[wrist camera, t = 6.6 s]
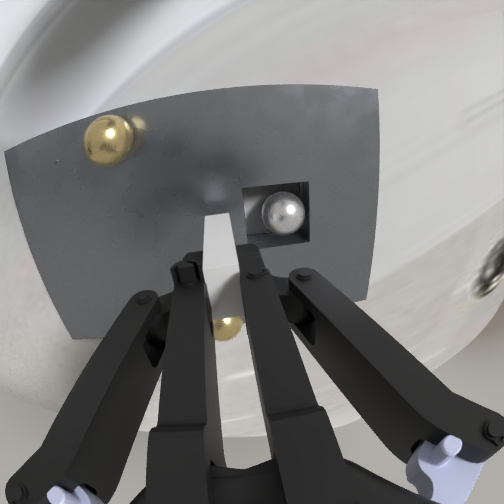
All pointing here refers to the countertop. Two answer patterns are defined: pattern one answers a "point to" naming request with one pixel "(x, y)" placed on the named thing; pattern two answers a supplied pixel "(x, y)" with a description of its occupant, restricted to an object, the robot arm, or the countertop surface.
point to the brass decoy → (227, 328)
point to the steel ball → (283, 213)
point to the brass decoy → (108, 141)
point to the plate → (199, 192)
